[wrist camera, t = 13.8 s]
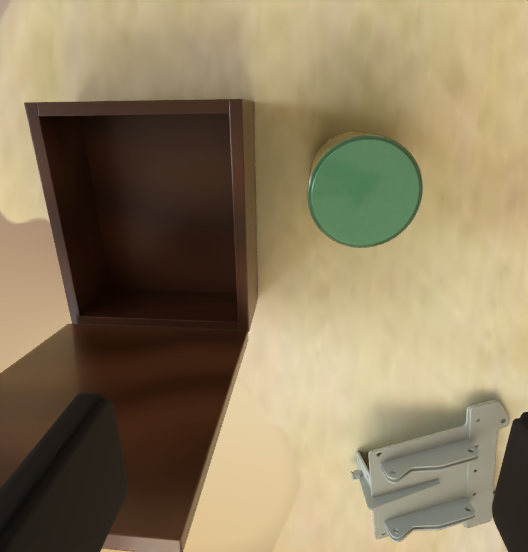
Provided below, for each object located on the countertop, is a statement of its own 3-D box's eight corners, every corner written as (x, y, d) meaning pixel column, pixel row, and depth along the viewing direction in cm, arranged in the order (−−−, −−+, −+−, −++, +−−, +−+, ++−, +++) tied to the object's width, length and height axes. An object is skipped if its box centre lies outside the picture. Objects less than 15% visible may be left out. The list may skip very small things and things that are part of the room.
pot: (309, 128, 29) (309, 135, 22) (399, 128, 29) (431, 134, 21) (306, 215, 32) (306, 247, 24) (390, 216, 31) (415, 249, 24)
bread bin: (73, 103, 30) (23, 102, 25) (254, 101, 29) (242, 99, 24) (106, 293, 36) (72, 325, 31) (258, 298, 35) (249, 332, 30)
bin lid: (-184, 506, 15) (-177, 523, 15) (180, 539, 13) (181, 557, 14) (68, 323, 30) (69, 333, 31) (248, 330, 29) (248, 340, 29)
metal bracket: (376, 575, 38) (367, 453, 32) (352, 519, 43) (341, 407, 38) (514, 532, 40) (527, 409, 34) (474, 484, 45) (480, 371, 40)
